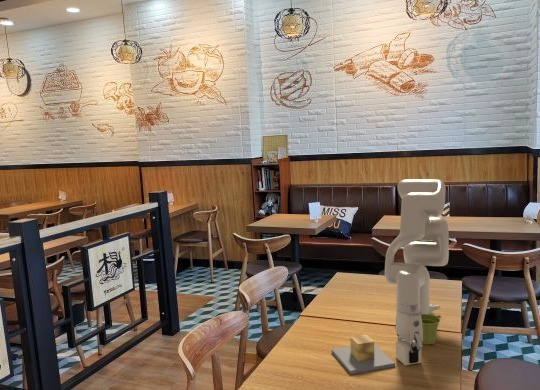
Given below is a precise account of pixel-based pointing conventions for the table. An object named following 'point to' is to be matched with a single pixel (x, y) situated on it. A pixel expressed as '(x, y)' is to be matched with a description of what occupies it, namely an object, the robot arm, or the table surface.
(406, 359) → the cream block
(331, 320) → the table surface
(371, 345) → the mustard block
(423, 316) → the plant pot
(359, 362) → the plate
